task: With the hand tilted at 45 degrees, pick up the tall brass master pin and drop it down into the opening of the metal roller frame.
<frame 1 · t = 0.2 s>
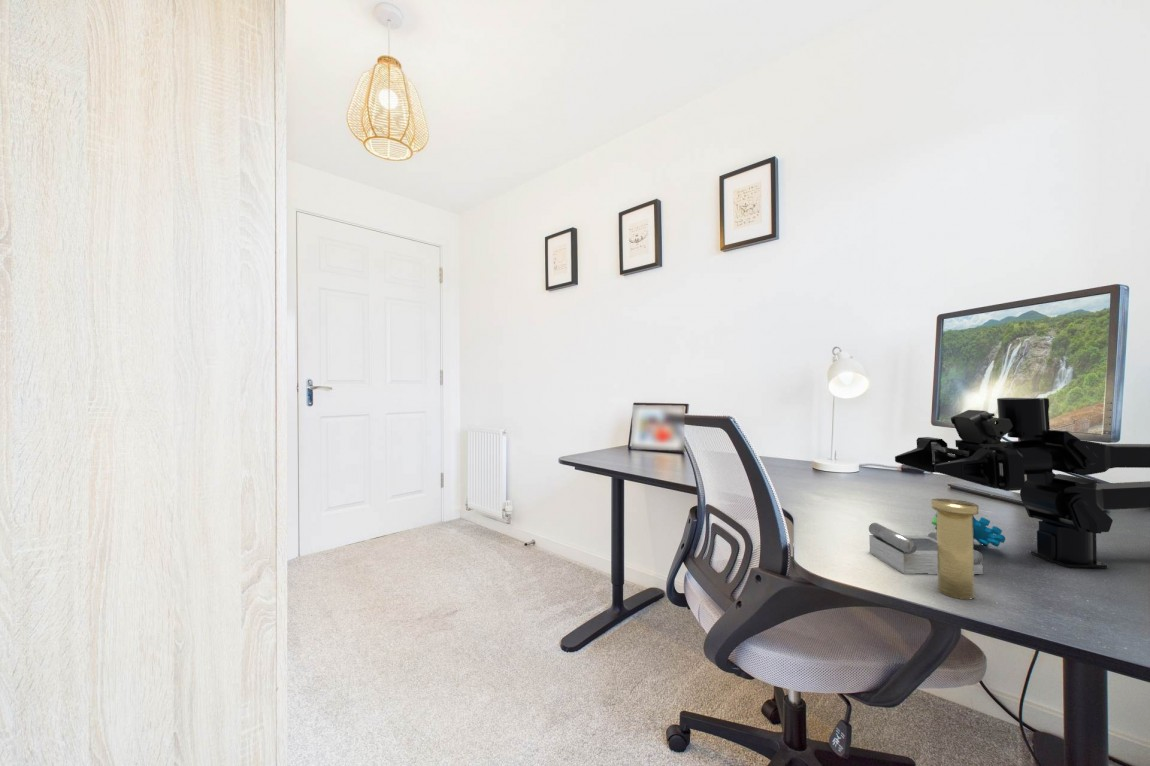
hand: (914, 463, 77), 17 cm above the table, tool horizontal, fingers open, 9 cm apart
master pin: (955, 593, 64), on the table
metal roller frame: (922, 563, 75), on the table
gear: (965, 547, 83), on the table
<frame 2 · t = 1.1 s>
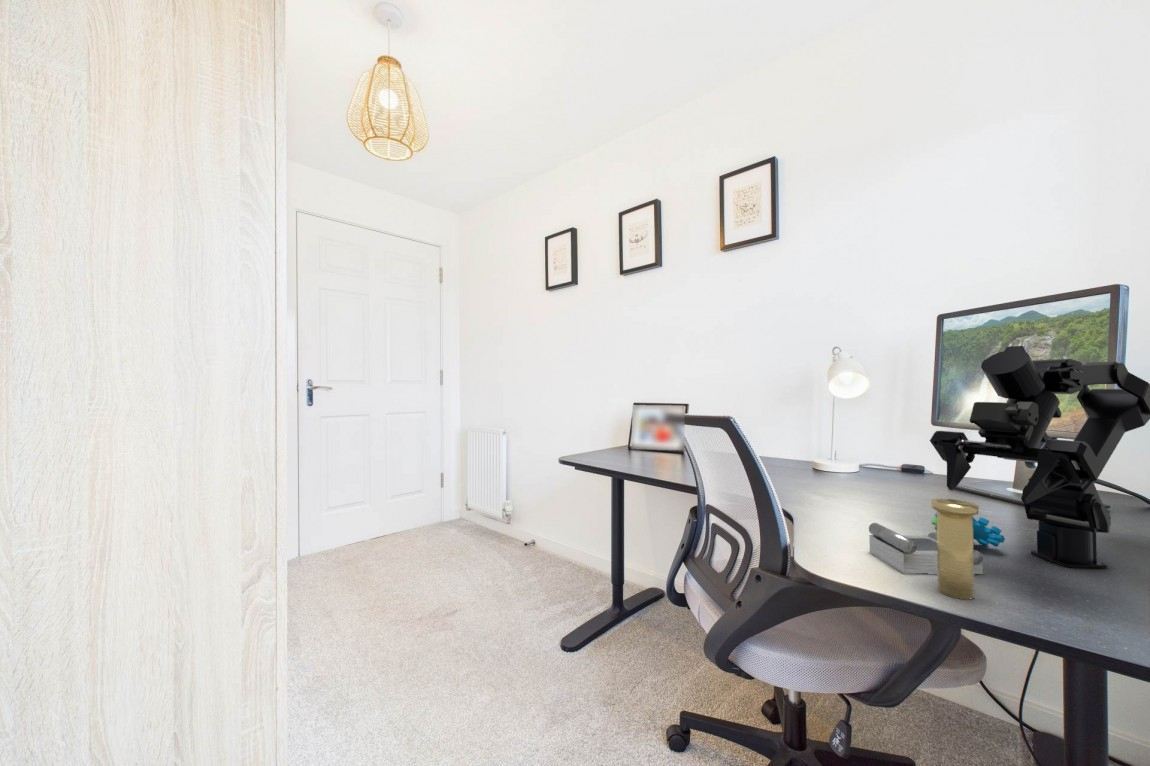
hand: (984, 494, 67), 13 cm above the table, tool tilted 45°, fingers open, 9 cm apart
nothing on the table moved.
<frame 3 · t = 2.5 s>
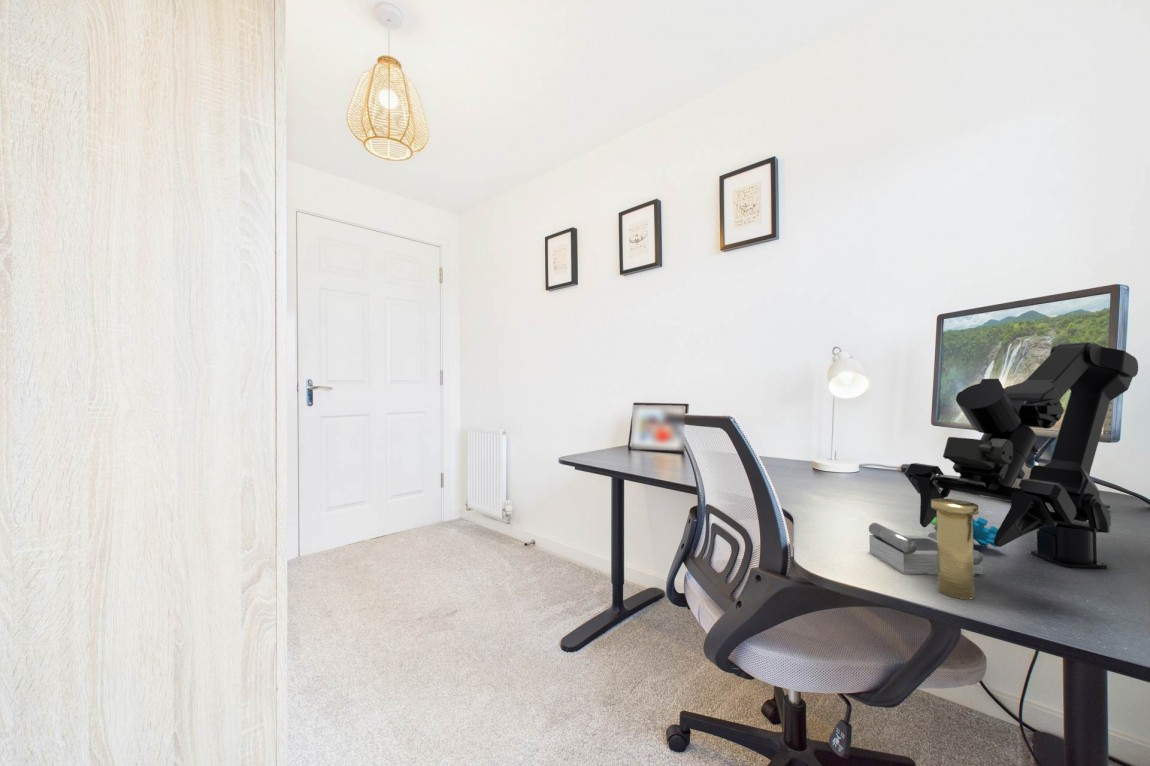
hand: (957, 534, 65), 8 cm above the table, tool tilted 45°, fingers open, 9 cm apart
nothing on the table moved.
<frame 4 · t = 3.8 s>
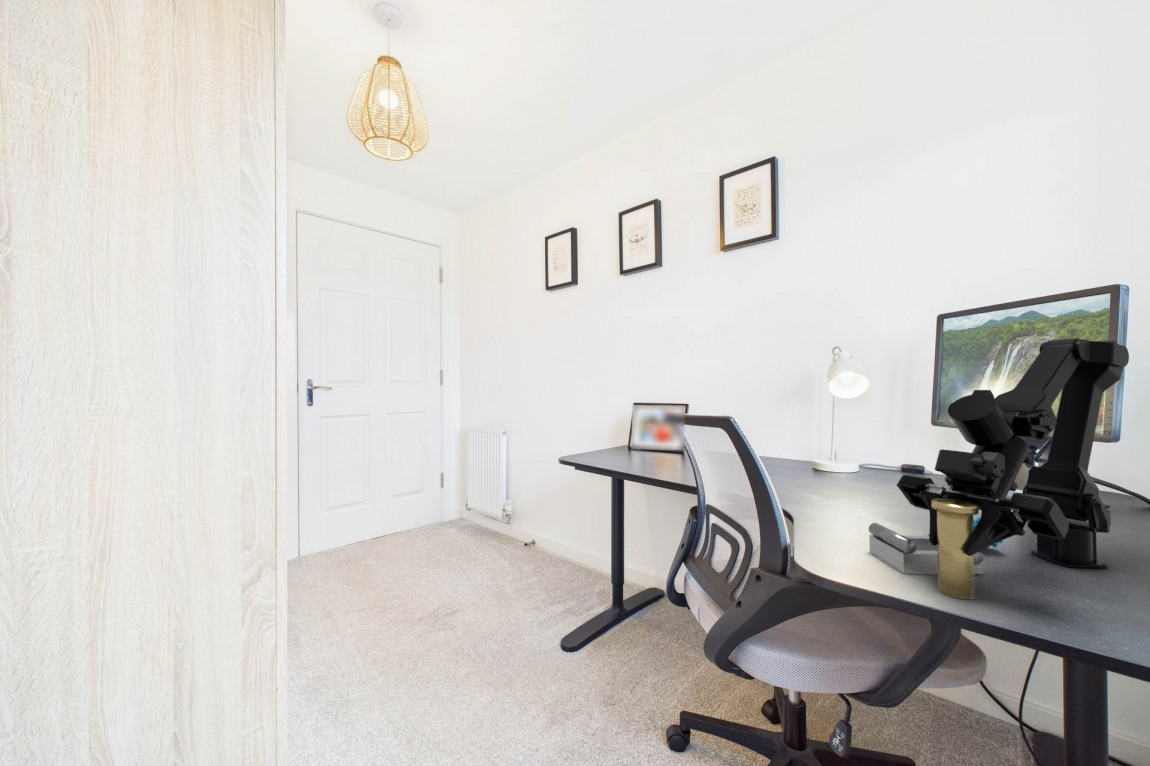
hand: (949, 548, 64), 7 cm above the table, tool tilted 45°, fingers closed on master pin, 4 cm apart
master pin: (955, 593, 64), on the table, touching gripper
everything else where it was.
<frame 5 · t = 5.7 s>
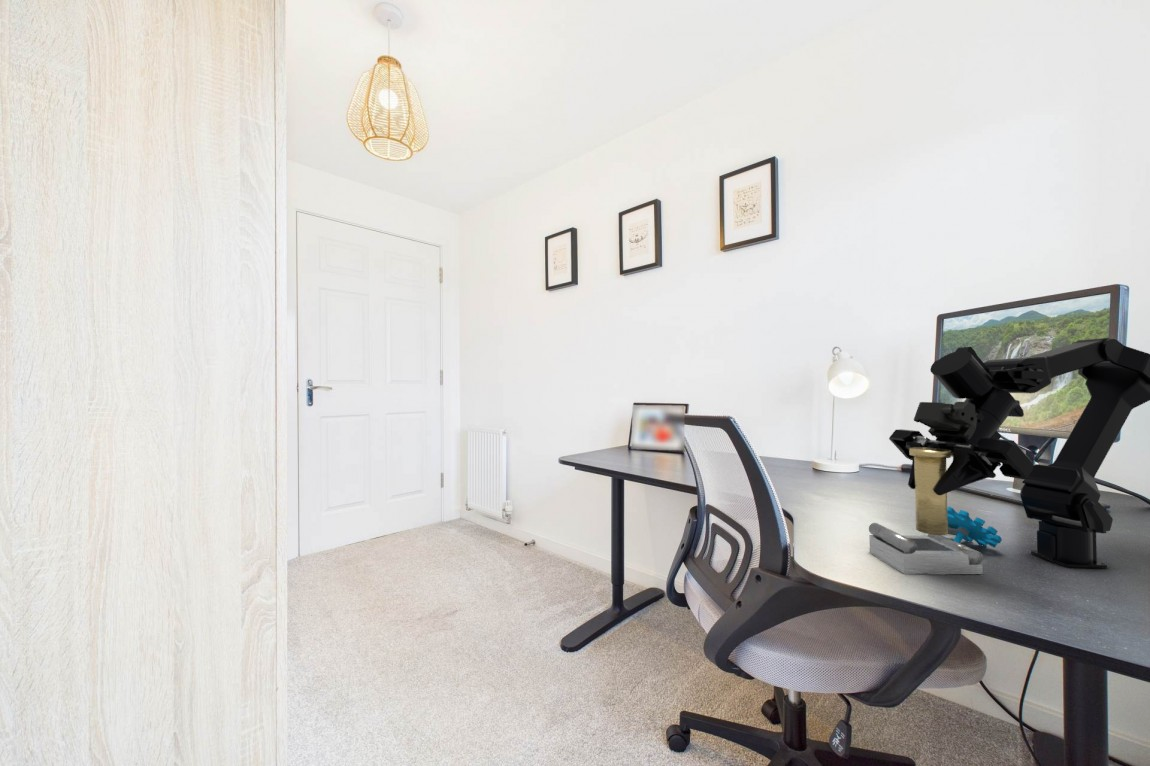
hand: (923, 490, 71), 13 cm above the table, tool tilted 45°, fingers closed on master pin, 4 cm apart
master pin: (931, 531, 71), point 7 cm above the table, touching gripper
everything else where it was.
when the fingers open (8 cm above the table, at t = 7.8 s): master pin drops 1 cm, resting in metal roller frame.
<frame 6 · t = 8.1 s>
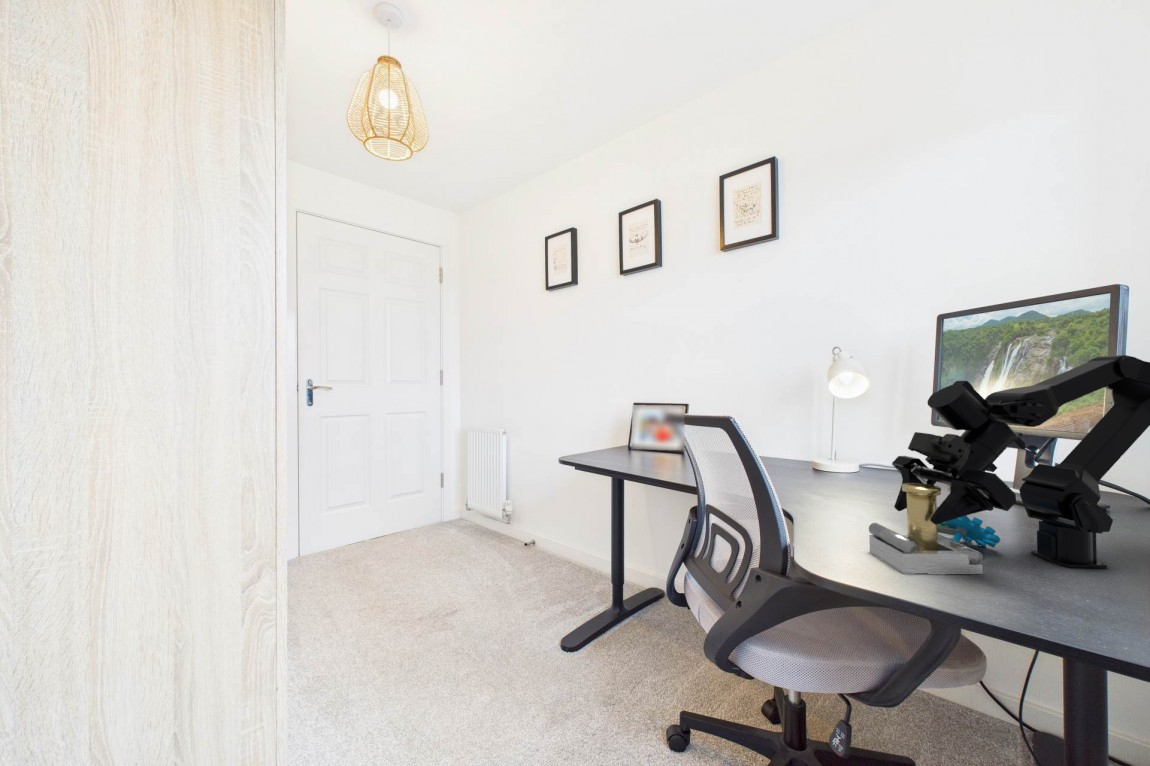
hand: (913, 515, 75), 8 cm above the table, tool tilted 45°, fingers open, 7 cm apart
master pin: (922, 563, 75), resting in metal roller frame
everything else where it was.
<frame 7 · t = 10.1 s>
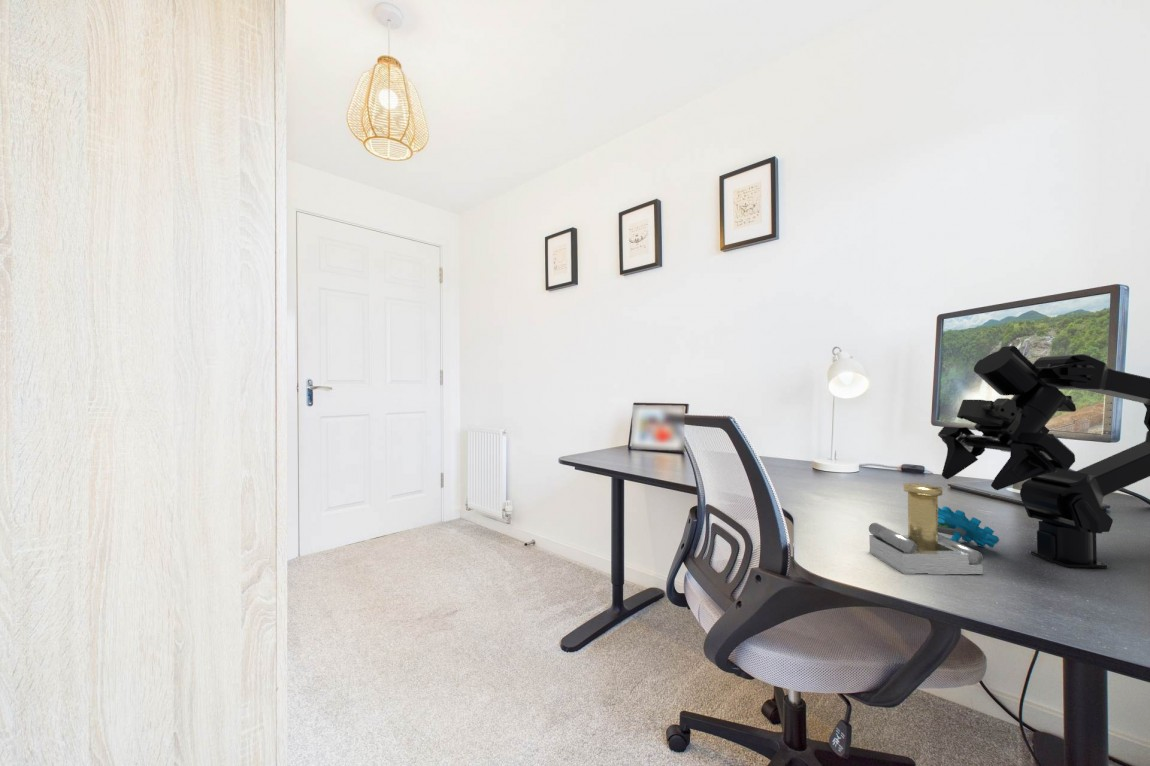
hand: (967, 482, 75), 14 cm above the table, tool tilted 45°, fingers open, 9 cm apart
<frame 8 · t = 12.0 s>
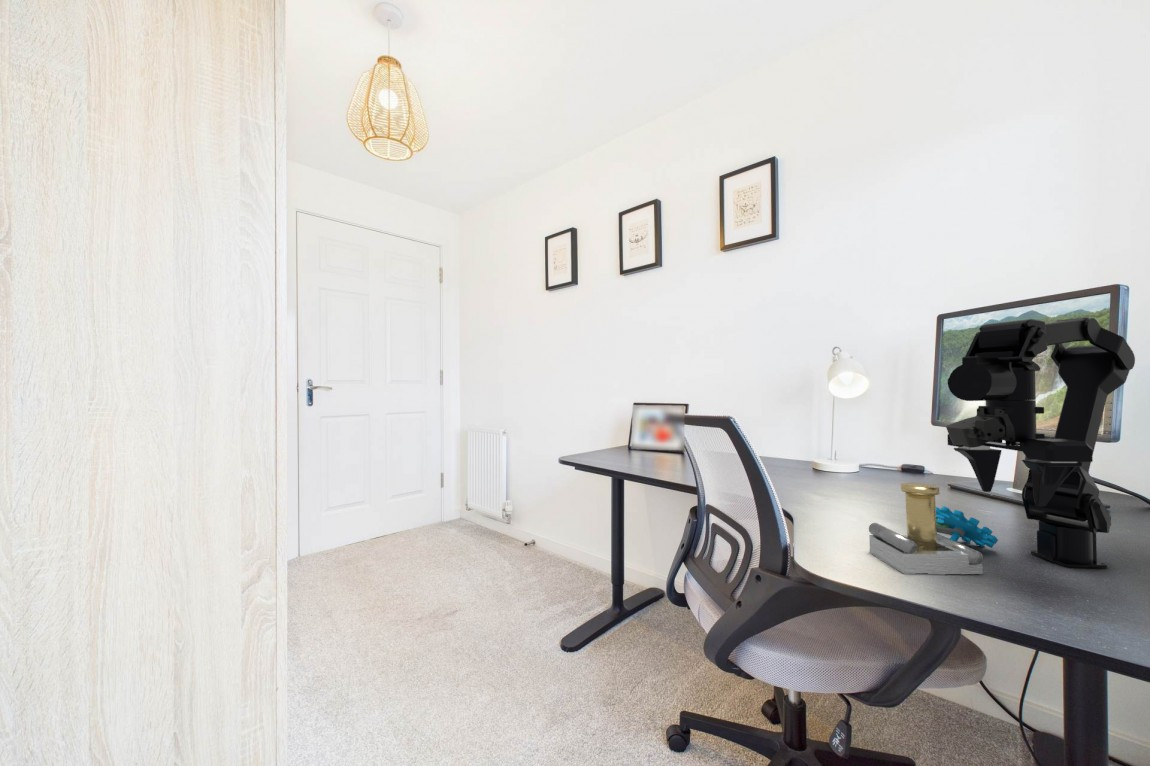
hand: (1011, 498, 71), 12 cm above the table, tool pointing down, fingers open, 9 cm apart
at the end: master pin 0.1 cm off-centre on the metal roller frame, point 0.0 cm above the metal roller frame's base; master pin tilted 1°; the gripper is holding nothing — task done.
